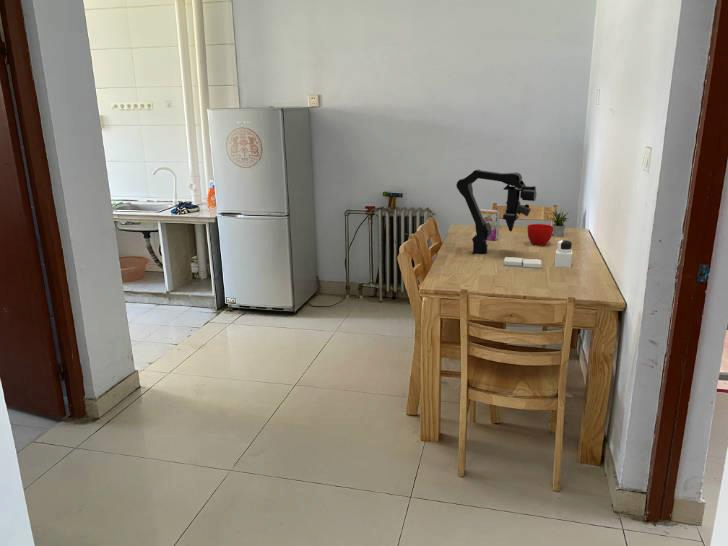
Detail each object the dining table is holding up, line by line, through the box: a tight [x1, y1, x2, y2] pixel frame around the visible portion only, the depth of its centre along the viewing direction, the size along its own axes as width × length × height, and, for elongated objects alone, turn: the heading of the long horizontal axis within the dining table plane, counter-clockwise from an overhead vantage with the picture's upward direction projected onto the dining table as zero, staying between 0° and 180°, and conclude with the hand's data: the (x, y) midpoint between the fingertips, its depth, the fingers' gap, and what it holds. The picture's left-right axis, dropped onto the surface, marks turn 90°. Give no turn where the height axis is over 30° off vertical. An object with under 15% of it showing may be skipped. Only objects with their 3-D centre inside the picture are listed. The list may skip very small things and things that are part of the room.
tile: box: [503, 256, 524, 267], centre depth 267 cm, size 8×2×8 cm
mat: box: [503, 263, 541, 270], centre depth 268 cm, size 16×16×1 cm
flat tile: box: [523, 258, 543, 269], centre depth 263 cm, size 8×8×2 cm
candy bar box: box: [479, 208, 501, 242], centre depth 318 cm, size 11×5×16 cm, turn 58°
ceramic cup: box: [527, 223, 553, 247], centre depth 306 cm, size 13×17×10 cm
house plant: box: [547, 207, 571, 238], centre depth 325 cm, size 14×14×16 cm
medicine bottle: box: [554, 239, 573, 269], centre depth 263 cm, size 7×7×12 cm
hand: (510, 231), depth 279 cm, fingers closed
